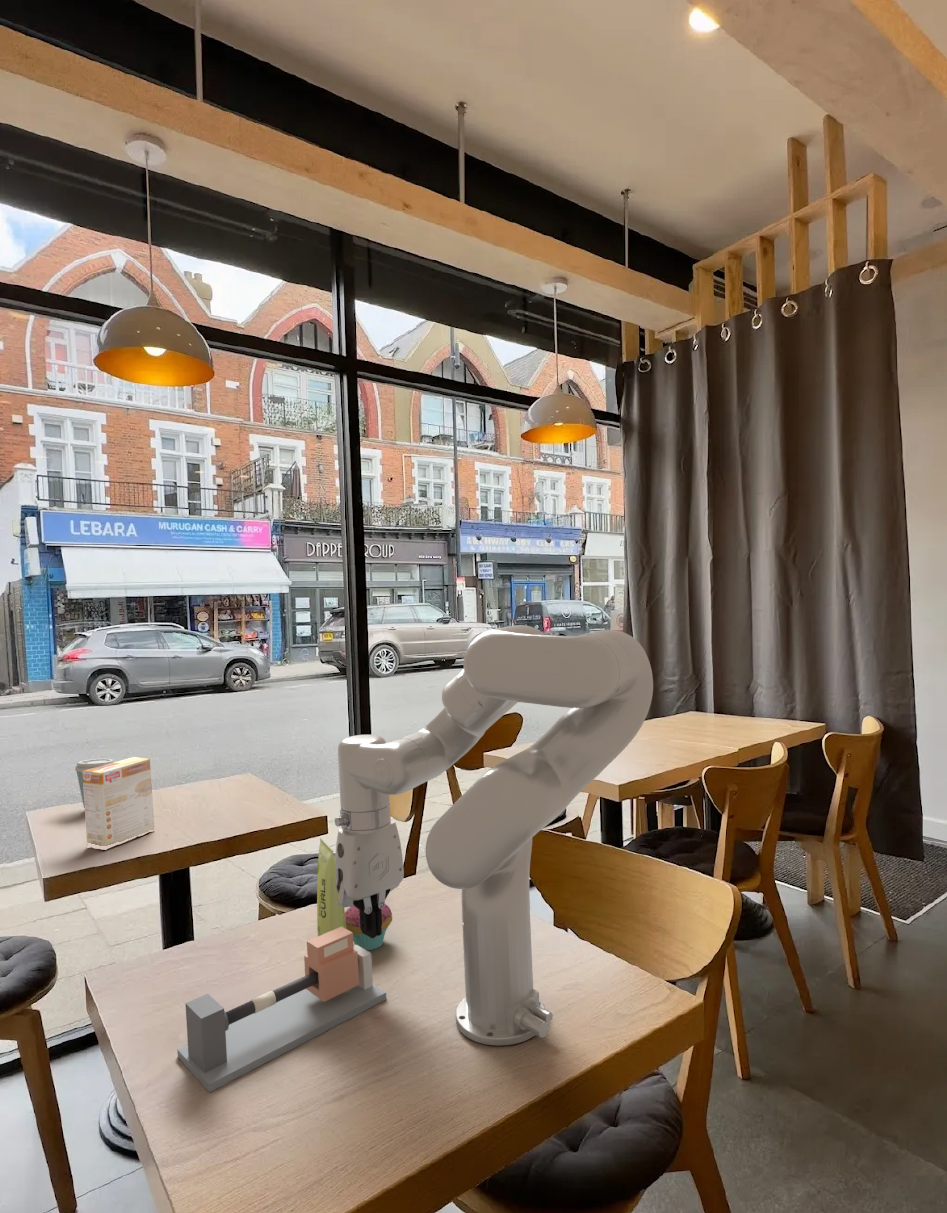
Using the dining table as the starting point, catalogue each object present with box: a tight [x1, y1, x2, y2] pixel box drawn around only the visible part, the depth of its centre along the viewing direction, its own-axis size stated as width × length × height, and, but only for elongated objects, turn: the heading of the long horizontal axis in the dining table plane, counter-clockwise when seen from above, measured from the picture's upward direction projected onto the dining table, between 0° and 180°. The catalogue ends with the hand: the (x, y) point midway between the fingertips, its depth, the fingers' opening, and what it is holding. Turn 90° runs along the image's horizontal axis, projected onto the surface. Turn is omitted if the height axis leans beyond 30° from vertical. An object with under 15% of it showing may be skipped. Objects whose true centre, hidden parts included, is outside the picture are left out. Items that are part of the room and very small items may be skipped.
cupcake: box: [345, 903, 393, 952], centre depth 125 cm, size 9×8×12 cm
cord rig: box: [176, 944, 387, 1093], centre depth 102 cm, size 27×10×8 cm, turn 133°
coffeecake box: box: [82, 756, 155, 846], centre depth 185 cm, size 15×7×20 cm, turn 154°
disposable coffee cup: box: [74, 758, 116, 809], centre depth 211 cm, size 11×11×15 cm
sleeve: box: [303, 927, 359, 1002], centre depth 107 cm, size 6×5×8 cm
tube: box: [316, 837, 346, 937], centre depth 120 cm, size 6×5×20 cm
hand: (371, 933), depth 112 cm, fingers closed
